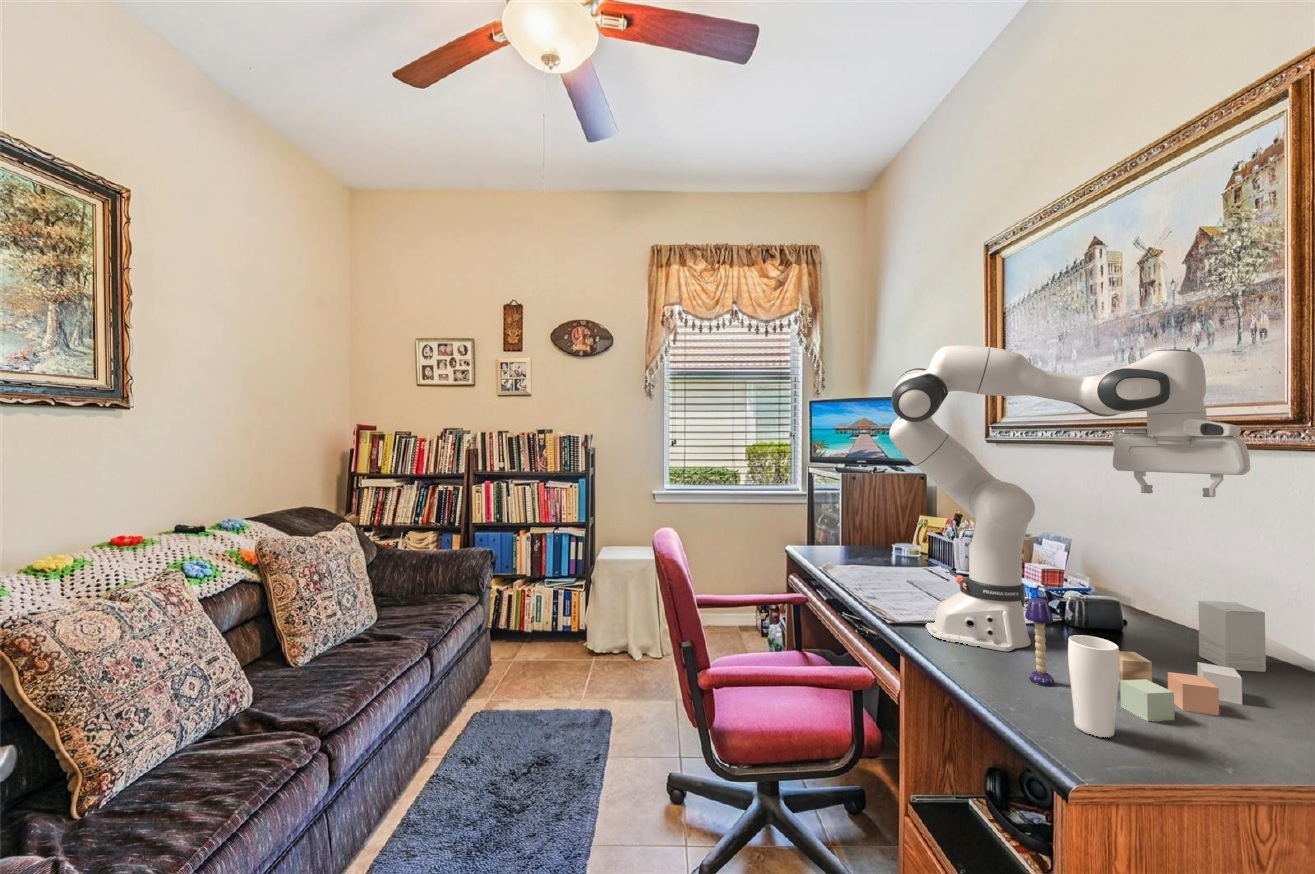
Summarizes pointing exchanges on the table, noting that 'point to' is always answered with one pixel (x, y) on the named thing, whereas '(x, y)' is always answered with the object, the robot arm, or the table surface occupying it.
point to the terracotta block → (1194, 693)
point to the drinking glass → (1094, 683)
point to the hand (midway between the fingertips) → (1176, 495)
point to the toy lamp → (1040, 639)
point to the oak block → (1134, 667)
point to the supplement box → (1232, 635)
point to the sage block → (1147, 700)
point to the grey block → (1223, 681)
